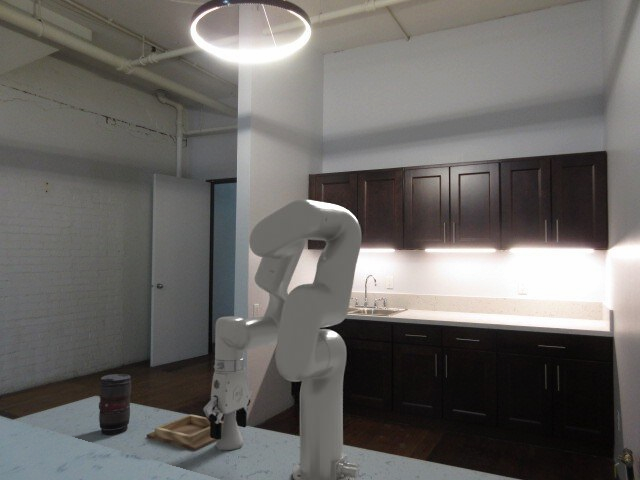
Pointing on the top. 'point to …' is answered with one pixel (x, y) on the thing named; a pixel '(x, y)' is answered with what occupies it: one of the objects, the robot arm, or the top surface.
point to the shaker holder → (185, 432)
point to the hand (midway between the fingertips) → (228, 432)
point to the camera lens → (114, 403)
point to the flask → (229, 434)
